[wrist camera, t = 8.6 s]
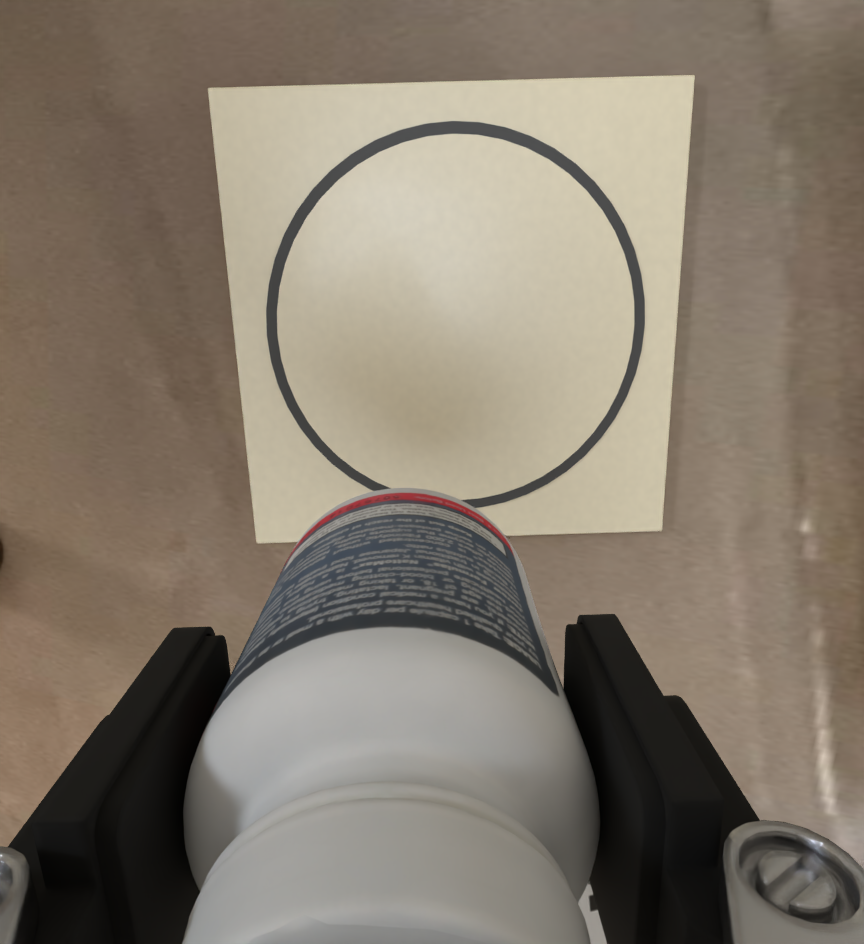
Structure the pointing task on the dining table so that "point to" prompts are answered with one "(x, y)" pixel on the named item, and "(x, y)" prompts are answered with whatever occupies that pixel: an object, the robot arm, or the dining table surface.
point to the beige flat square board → (457, 294)
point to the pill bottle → (393, 748)
